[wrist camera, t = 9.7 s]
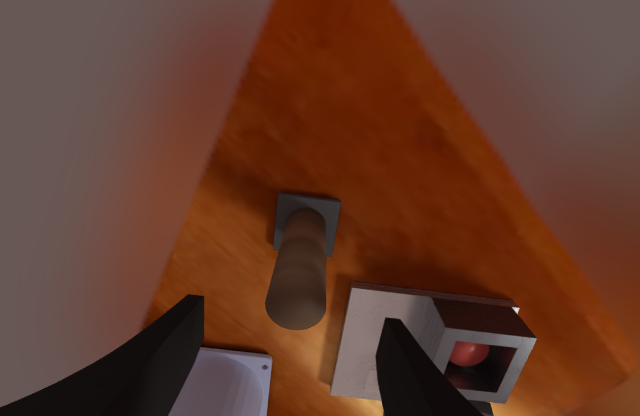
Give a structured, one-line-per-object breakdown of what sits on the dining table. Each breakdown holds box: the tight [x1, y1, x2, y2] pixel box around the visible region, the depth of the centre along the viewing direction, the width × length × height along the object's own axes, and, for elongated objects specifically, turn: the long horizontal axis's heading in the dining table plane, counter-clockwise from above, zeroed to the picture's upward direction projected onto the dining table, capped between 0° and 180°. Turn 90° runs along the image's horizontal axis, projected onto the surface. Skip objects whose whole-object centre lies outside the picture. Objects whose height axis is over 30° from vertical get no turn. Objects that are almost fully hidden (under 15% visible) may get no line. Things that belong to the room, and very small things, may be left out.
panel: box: [330, 281, 537, 404], centre depth 24 cm, size 10×12×4 cm
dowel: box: [265, 208, 326, 330], centre depth 18 cm, size 3×3×8 cm
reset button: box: [449, 341, 489, 366], centre depth 23 cm, size 3×3×2 cm
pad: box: [273, 192, 341, 257], centre depth 22 cm, size 4×4×1 cm
